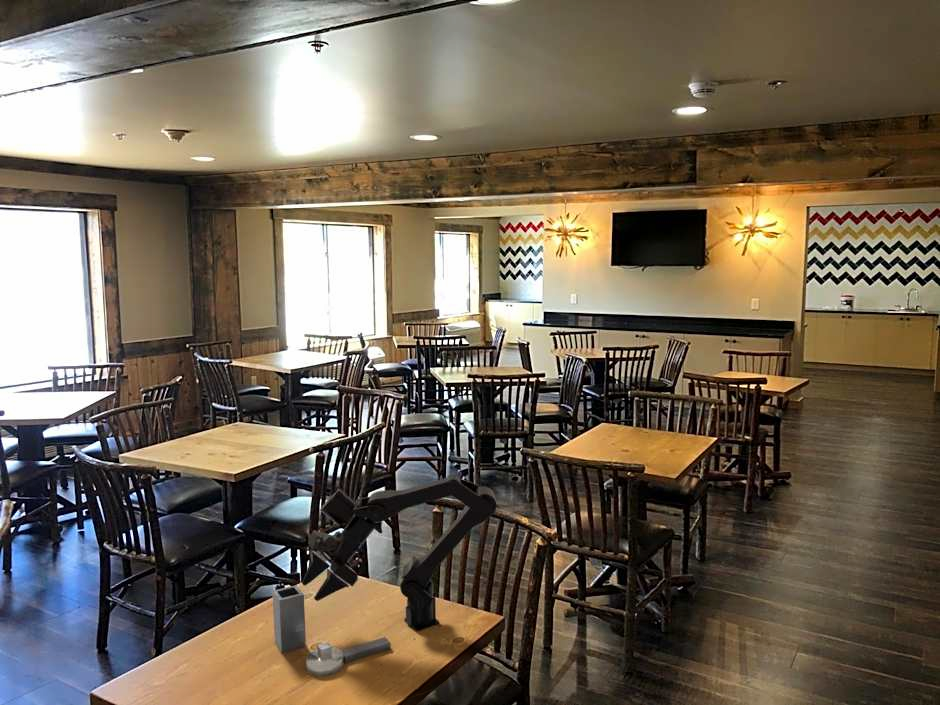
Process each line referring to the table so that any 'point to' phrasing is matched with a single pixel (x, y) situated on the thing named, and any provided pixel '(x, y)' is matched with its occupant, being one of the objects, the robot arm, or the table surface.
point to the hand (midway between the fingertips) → (309, 592)
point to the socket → (289, 618)
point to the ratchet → (341, 656)
